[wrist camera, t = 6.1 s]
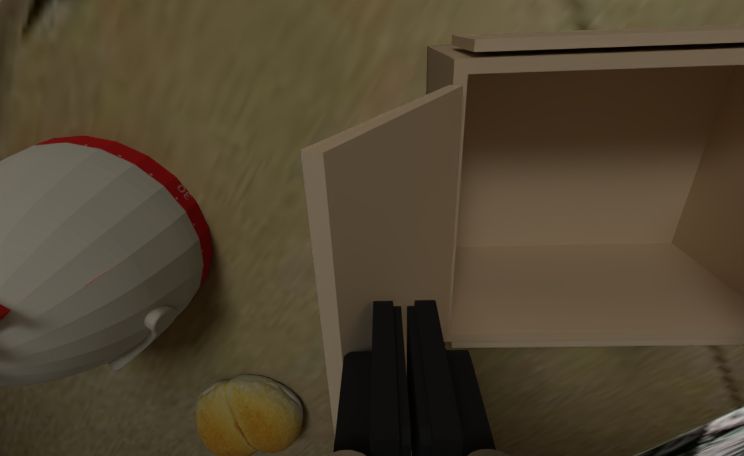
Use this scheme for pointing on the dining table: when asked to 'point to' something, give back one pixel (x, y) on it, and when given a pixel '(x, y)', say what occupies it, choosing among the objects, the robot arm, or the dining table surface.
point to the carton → (597, 187)
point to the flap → (382, 220)
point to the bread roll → (248, 416)
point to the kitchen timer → (91, 257)
